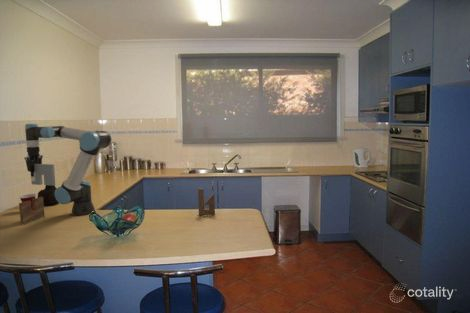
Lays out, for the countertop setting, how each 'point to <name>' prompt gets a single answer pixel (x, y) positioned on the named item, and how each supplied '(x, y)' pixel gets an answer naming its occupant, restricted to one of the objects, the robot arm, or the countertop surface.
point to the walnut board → (30, 214)
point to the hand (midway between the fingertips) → (35, 180)
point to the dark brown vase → (48, 195)
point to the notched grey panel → (46, 171)
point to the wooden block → (206, 203)
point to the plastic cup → (28, 198)
